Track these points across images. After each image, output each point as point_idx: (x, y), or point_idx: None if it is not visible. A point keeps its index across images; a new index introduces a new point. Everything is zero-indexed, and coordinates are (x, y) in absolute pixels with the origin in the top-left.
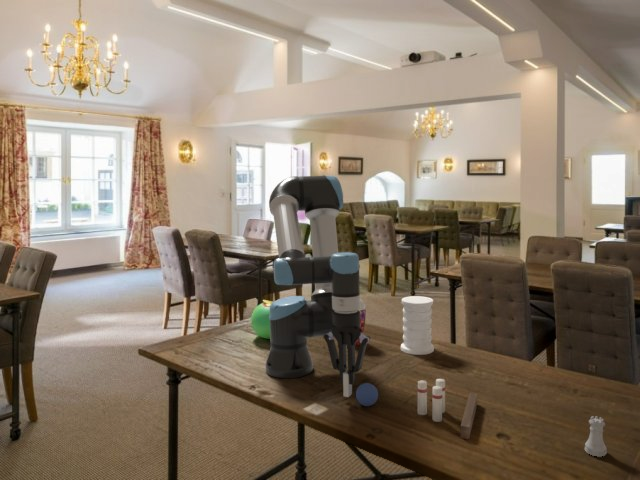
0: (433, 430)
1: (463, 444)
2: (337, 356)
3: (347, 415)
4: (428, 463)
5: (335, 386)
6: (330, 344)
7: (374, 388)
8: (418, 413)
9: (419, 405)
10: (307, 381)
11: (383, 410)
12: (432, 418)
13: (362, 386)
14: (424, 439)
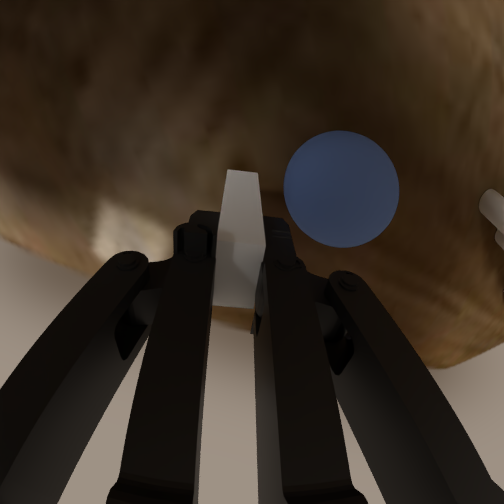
0: (477, 280)
1: (495, 307)
2: (102, 346)
3: None
4: None
5: (122, 9)
6: (49, 495)
7: (393, 215)
8: (480, 210)
9: (497, 228)
10: (4, 33)
11: None
12: (497, 237)
13: (334, 232)
14: (448, 316)
